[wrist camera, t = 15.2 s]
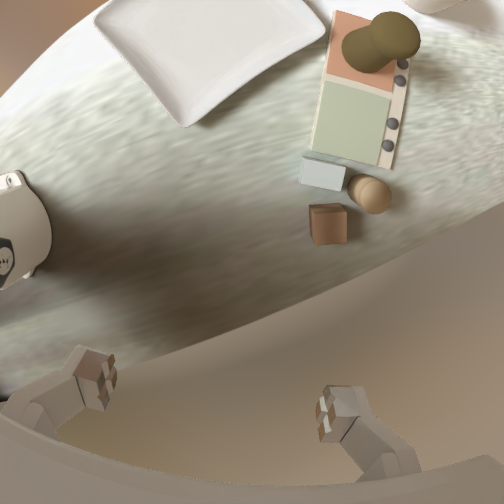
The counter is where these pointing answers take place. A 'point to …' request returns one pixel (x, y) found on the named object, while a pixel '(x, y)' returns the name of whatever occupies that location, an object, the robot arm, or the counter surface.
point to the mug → (431, 5)
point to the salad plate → (204, 45)
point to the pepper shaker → (381, 42)
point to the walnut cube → (328, 224)
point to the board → (358, 103)
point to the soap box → (321, 173)
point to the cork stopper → (369, 193)
